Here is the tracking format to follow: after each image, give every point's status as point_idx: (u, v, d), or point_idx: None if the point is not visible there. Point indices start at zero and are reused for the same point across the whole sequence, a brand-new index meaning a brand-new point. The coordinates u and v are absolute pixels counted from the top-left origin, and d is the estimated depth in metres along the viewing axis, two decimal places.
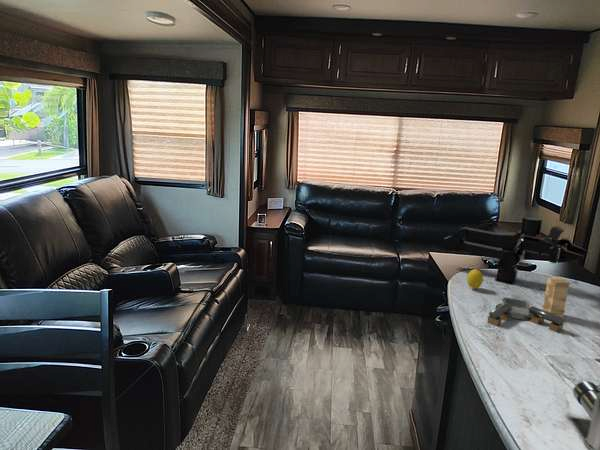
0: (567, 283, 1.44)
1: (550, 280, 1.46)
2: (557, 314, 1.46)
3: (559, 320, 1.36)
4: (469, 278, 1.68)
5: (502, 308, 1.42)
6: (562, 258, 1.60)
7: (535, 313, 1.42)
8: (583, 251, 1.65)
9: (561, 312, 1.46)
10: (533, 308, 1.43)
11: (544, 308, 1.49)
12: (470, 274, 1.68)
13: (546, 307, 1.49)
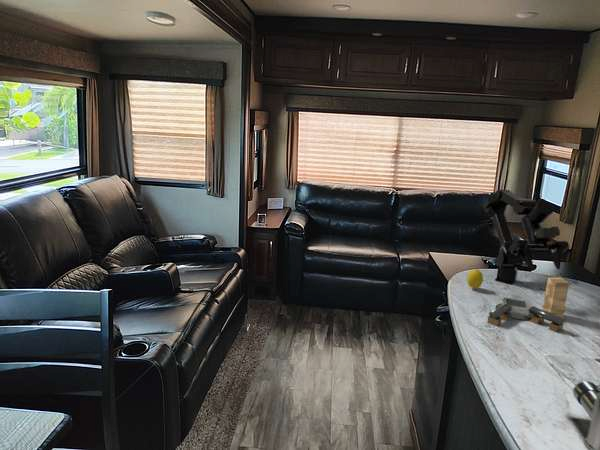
0: (567, 283, 1.44)
1: (550, 280, 1.46)
2: (557, 314, 1.46)
3: (559, 320, 1.36)
4: (469, 278, 1.68)
5: (502, 308, 1.42)
6: (521, 254, 1.57)
7: (535, 313, 1.42)
8: (557, 265, 1.54)
9: (561, 312, 1.46)
10: (533, 308, 1.43)
11: (544, 308, 1.49)
12: (470, 274, 1.68)
13: (546, 307, 1.49)
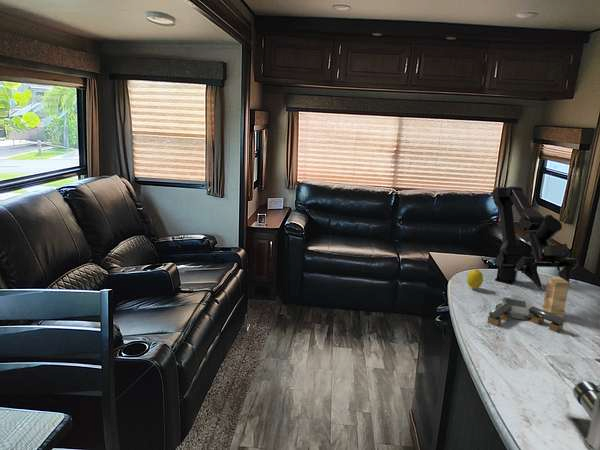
0: (567, 283, 1.44)
1: (550, 280, 1.46)
2: (557, 314, 1.46)
3: (559, 320, 1.36)
4: (469, 278, 1.68)
5: (502, 308, 1.42)
6: (528, 272, 1.52)
7: (535, 313, 1.42)
8: None
9: (561, 312, 1.46)
10: (533, 308, 1.43)
11: (544, 308, 1.49)
12: (470, 274, 1.68)
13: (546, 307, 1.49)
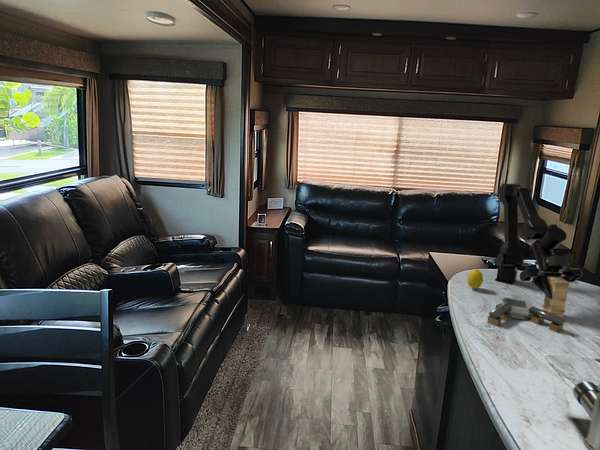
0: (567, 283, 1.44)
1: (550, 280, 1.46)
2: (557, 314, 1.46)
3: (559, 320, 1.36)
4: (469, 278, 1.68)
5: (502, 308, 1.42)
6: (538, 283, 1.50)
7: (535, 313, 1.42)
8: None
9: (561, 312, 1.46)
10: (533, 308, 1.43)
11: (544, 308, 1.49)
12: (470, 274, 1.68)
13: (546, 307, 1.49)
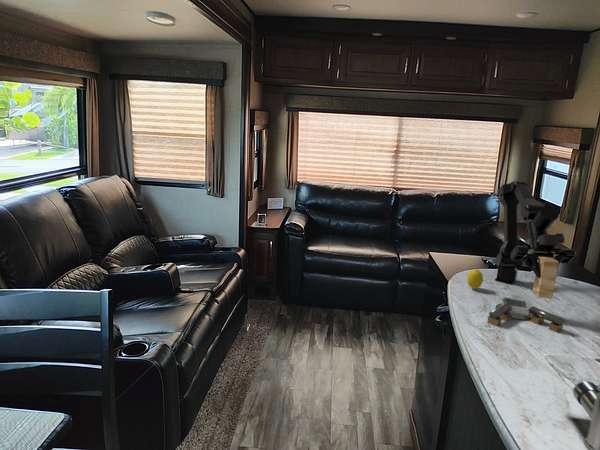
0: (556, 262, 1.42)
1: (540, 259, 1.45)
2: (546, 294, 1.45)
3: (559, 320, 1.36)
4: (469, 278, 1.68)
5: (502, 308, 1.42)
6: (529, 262, 1.49)
7: (535, 313, 1.42)
8: None
9: (550, 292, 1.44)
10: (533, 308, 1.43)
11: (534, 288, 1.48)
12: (470, 274, 1.68)
13: (535, 287, 1.47)
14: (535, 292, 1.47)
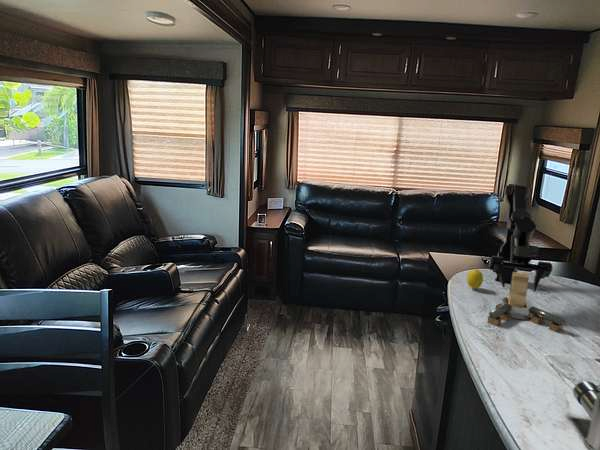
0: (526, 278, 1.45)
1: (512, 274, 1.48)
2: None
3: (559, 320, 1.36)
4: (469, 278, 1.68)
5: (502, 308, 1.42)
6: (498, 272, 1.53)
7: (535, 313, 1.42)
8: (534, 287, 1.46)
9: None
10: (533, 308, 1.43)
11: (508, 302, 1.51)
12: (470, 274, 1.68)
13: (508, 301, 1.50)
14: None
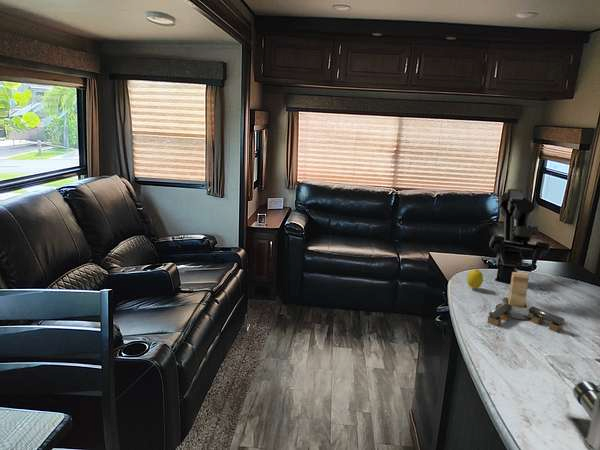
0: (526, 278, 1.45)
1: (512, 274, 1.48)
2: None
3: (559, 320, 1.36)
4: (469, 278, 1.68)
5: (502, 308, 1.42)
6: (498, 250, 1.60)
7: (535, 313, 1.42)
8: (532, 265, 1.54)
9: None
10: (533, 308, 1.43)
11: (508, 302, 1.51)
12: (470, 274, 1.68)
13: (508, 301, 1.50)
14: None
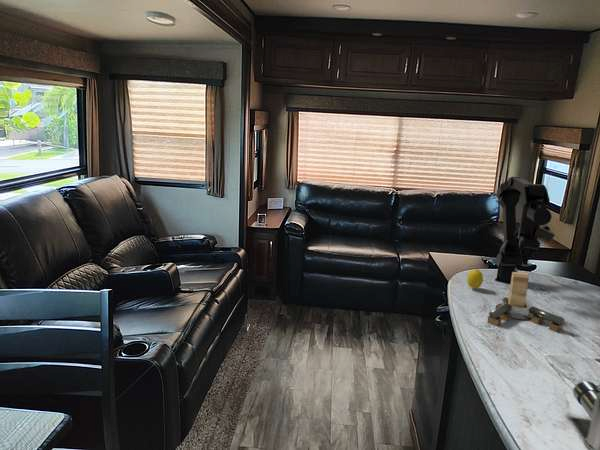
0: (526, 278, 1.45)
1: (512, 274, 1.48)
2: None
3: (559, 320, 1.36)
4: (469, 278, 1.68)
5: (502, 308, 1.42)
6: (523, 248, 1.57)
7: (535, 313, 1.42)
8: None
9: None
10: (533, 308, 1.43)
11: (508, 302, 1.51)
12: (470, 274, 1.68)
13: (508, 301, 1.50)
14: None
